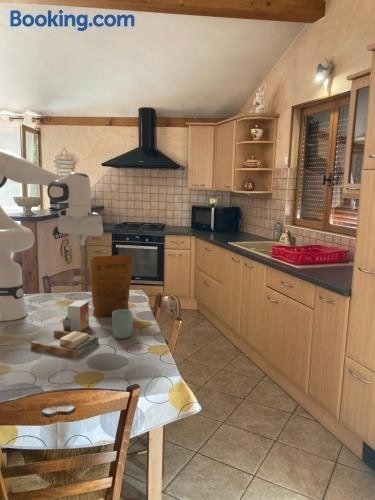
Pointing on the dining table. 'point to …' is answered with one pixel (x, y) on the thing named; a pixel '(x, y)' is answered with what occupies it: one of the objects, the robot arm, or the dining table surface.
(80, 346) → the bay
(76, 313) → the small box
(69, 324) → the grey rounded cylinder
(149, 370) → the dining table surface
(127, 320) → the cup
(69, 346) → the tan tapered block
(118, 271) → the pancake mix bag
